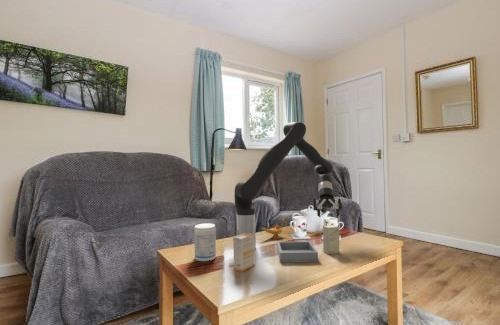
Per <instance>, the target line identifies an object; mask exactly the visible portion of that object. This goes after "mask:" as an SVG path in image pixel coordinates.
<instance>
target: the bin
mask: <svg viewBox="0 0 500 325" xmlns="http://www.w3.org/2000/svg"><path fill="white" fill-rule="evenodd" d="M276 250H277V254H278V255H277V256H278V258H279V263H317V262H319V252H318V251H317V249H316V248H315V246H314V244H313V243H312V241H310V240H309V241H307V240H306V241H301V240H300V241H277V242H276Z"/></svg>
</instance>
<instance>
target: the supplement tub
mask: <svg viewBox="0 0 500 325" xmlns="http://www.w3.org/2000/svg"><path fill="white" fill-rule="evenodd" d="M193 230H194V231H193V233H194V240H193V241H194V258H195V260H196V261H199V262H210V261H212V260H214V259H215V258H217V242H216V240H217V239H216V237H217V232H216V224H214V223H210V222H209V223H208V222H207V223H199V224H195V225H194V229H193ZM209 260H210V261H209Z"/></svg>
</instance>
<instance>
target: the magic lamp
mask: <svg viewBox="0 0 500 325" xmlns="http://www.w3.org/2000/svg"><path fill="white" fill-rule="evenodd" d="M281 219H282V223H281V225H278V223H276V225H275V226H274V227H271V228H265V227H262V226H260V227H259V228H258V229H262V230H263V231H265V233H268V234H272V236H271V238H272V239H280V238H281V236H280V234H282V233H283V229H284V228H285V227H286V226H287V220H286V216H284V217H282V218H281ZM284 223H285V225H284Z"/></svg>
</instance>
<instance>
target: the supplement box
mask: <svg viewBox="0 0 500 325" xmlns="http://www.w3.org/2000/svg"><path fill="white" fill-rule="evenodd" d="M232 241H233V242H232V243H233V248H232V249H233V269H234V270H237V271H240V272H244V271H246V270H248V269H250V268H251V267H255V265H256V260H255V259H256V257H255V256H256V255H255V254H256V253H255V252H256V251H255V250H256V249H254V234H251V233H243V234H240V235H237V234H236V235H235V236H232Z"/></svg>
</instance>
